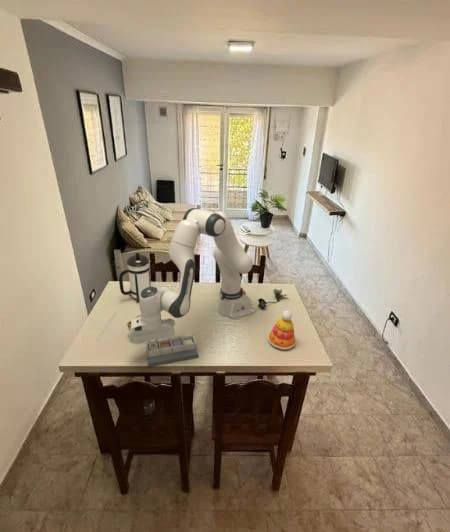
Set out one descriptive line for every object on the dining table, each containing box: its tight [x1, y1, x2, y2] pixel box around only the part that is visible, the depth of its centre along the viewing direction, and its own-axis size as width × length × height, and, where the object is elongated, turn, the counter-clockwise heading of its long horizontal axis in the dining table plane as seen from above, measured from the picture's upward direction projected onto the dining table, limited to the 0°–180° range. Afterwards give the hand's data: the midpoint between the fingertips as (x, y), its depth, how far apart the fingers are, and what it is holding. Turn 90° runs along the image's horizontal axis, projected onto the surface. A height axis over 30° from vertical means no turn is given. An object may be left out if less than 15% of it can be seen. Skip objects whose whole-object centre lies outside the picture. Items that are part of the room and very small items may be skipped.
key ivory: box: [184, 339, 193, 344], centre depth 149 cm, size 4×4×4 cm
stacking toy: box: [267, 310, 297, 351], centre depth 153 cm, size 14×14×20 cm
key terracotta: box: [161, 343, 170, 349], centre depth 146 cm, size 4×4×4 cm
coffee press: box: [118, 252, 152, 304], centre depth 182 cm, size 17×16×30 cm
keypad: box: [145, 334, 199, 368], centre depth 146 cm, size 23×14×6 cm, turn 108°
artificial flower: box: [257, 287, 288, 310], centre depth 189 cm, size 9×22×10 cm, turn 126°
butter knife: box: [95, 325, 109, 341], centre depth 163 cm, size 1×24×3 cm
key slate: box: [172, 340, 182, 346], centre depth 147 cm, size 4×4×4 cm
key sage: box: [149, 344, 158, 351], centre depth 144 cm, size 4×4×4 cm
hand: (153, 345), depth 142 cm, fingers closed
